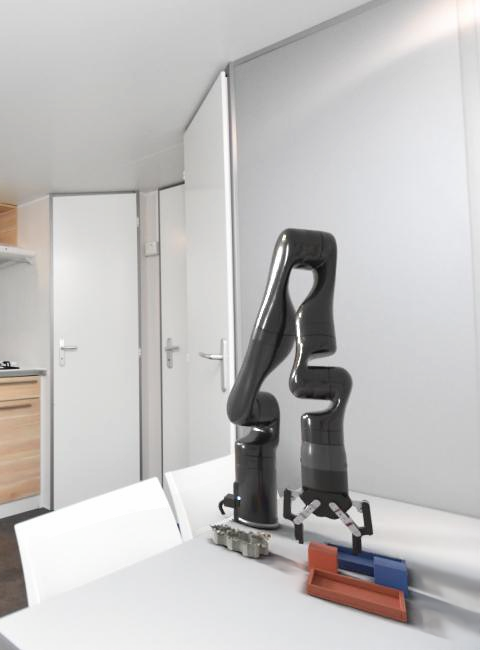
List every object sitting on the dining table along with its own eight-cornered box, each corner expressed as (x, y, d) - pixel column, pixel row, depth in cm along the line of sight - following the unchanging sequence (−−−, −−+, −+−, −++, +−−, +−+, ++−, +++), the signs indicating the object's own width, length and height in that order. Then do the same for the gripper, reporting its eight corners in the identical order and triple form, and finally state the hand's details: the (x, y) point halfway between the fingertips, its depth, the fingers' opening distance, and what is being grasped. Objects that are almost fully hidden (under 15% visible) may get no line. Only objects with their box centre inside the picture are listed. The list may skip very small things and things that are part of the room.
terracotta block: (308, 571, 94) (307, 547, 94) (310, 563, 97) (310, 541, 98) (337, 578, 91) (336, 554, 91) (338, 571, 94) (337, 547, 95)
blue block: (374, 588, 87) (373, 563, 88) (374, 580, 91) (373, 555, 91) (408, 597, 85) (406, 571, 85) (406, 588, 88) (405, 563, 88)
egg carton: (274, 555, 101) (274, 535, 102) (250, 560, 98) (250, 539, 99) (228, 536, 111) (228, 518, 111) (206, 540, 108) (206, 521, 108)
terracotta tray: (306, 593, 85) (306, 583, 85) (311, 576, 92) (311, 566, 92) (406, 623, 76) (406, 612, 77) (403, 601, 83) (403, 590, 84)
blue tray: (321, 563, 98) (321, 554, 98) (324, 549, 105) (324, 541, 105) (408, 585, 89) (408, 575, 90) (405, 568, 96) (405, 560, 97)
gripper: (369, 467, 94) (373, 553, 93) (283, 456, 103) (286, 534, 101) (370, 474, 88) (375, 565, 87) (279, 462, 97) (282, 544, 96)
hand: (327, 548), depth 94 cm, fingers open, 8 cm apart
